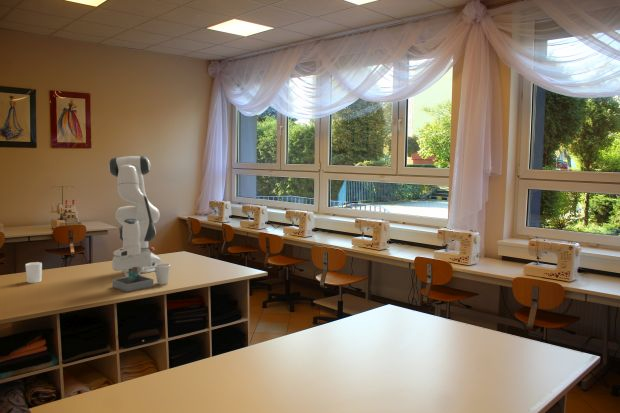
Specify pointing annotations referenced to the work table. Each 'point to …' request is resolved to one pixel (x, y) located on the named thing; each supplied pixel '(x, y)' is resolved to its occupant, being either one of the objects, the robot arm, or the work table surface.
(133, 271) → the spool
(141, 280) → the bin
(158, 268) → the dixie cup
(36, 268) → the white cup
